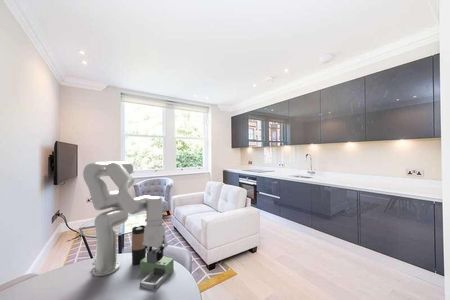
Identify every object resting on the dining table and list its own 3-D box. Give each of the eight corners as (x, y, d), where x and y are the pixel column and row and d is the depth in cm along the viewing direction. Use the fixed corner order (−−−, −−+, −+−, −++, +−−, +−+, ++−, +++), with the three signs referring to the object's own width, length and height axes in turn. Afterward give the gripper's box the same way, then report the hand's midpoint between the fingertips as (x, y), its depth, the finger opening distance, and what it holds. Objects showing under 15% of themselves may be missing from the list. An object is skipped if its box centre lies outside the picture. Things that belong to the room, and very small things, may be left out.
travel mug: (140, 266, 106) (140, 230, 107) (128, 265, 107) (128, 229, 108) (148, 259, 113) (148, 225, 114) (137, 258, 115) (137, 225, 116)
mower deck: (126, 283, 91) (126, 265, 91) (148, 265, 107) (148, 249, 107) (155, 289, 87) (155, 269, 87) (173, 269, 102) (173, 252, 103)
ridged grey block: (146, 262, 90) (146, 252, 90) (156, 255, 97) (155, 245, 97) (154, 263, 89) (154, 253, 89) (163, 256, 96) (163, 246, 96)
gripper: (135, 223, 93) (135, 261, 92) (165, 225, 88) (165, 265, 87) (145, 218, 100) (146, 253, 99) (173, 220, 95) (174, 257, 94)
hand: (155, 258), depth 93 cm, fingers closed on ridged grey block, 4 cm apart
